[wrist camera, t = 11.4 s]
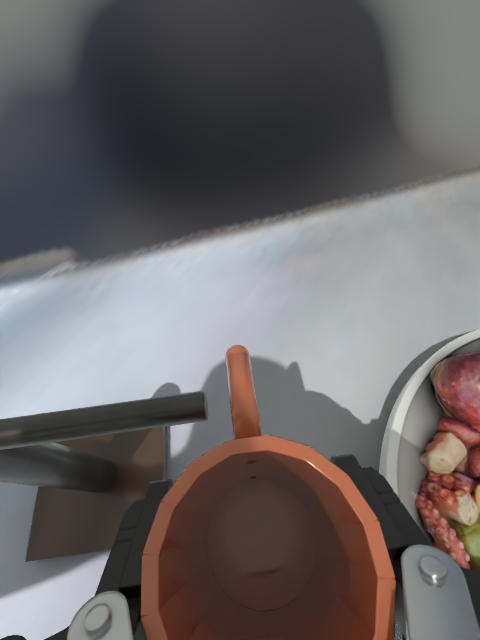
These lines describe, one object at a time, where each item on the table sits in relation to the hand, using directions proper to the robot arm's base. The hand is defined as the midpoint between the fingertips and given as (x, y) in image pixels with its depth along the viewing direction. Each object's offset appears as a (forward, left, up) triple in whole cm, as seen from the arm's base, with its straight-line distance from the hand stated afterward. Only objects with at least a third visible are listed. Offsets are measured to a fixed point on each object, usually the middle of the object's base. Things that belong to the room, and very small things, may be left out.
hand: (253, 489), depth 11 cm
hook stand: (-9, +3, -16) cm, 19 cm away
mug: (0, 0, -5) cm, 5 cm away
